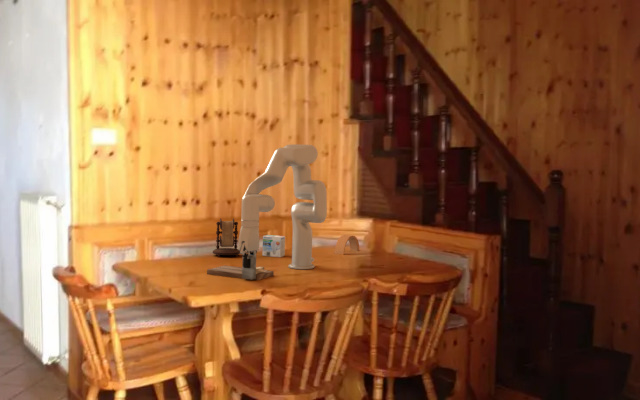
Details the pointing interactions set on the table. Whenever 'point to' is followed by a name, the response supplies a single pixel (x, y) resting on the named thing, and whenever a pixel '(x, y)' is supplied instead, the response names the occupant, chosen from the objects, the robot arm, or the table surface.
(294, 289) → the table surface
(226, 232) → the brown wooden chair
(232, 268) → the walnut board
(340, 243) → the arch
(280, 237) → the light bulb box
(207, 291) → the table surface
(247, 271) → the marking gauge
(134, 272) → the table surface
